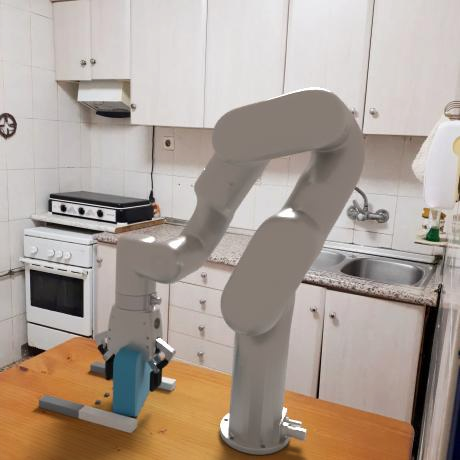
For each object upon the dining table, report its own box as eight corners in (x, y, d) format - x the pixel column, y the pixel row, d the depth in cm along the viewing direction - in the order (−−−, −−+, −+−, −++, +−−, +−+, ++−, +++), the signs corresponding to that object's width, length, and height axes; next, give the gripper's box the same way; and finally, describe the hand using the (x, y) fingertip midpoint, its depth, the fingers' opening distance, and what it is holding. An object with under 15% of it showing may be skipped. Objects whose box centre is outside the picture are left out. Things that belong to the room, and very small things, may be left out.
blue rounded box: (130, 386, 97) (131, 332, 95) (151, 387, 97) (153, 333, 95) (112, 418, 85) (113, 357, 83) (136, 420, 85) (137, 359, 83)
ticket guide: (175, 386, 98) (176, 379, 98) (131, 433, 81) (131, 425, 81) (95, 367, 104) (95, 361, 104) (38, 407, 87) (38, 399, 87)
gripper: (185, 301, 88) (181, 384, 91) (107, 287, 94) (106, 365, 97) (167, 313, 81) (163, 402, 84) (84, 297, 87) (83, 381, 90)
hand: (132, 382), depth 90 cm, fingers open, 9 cm apart
